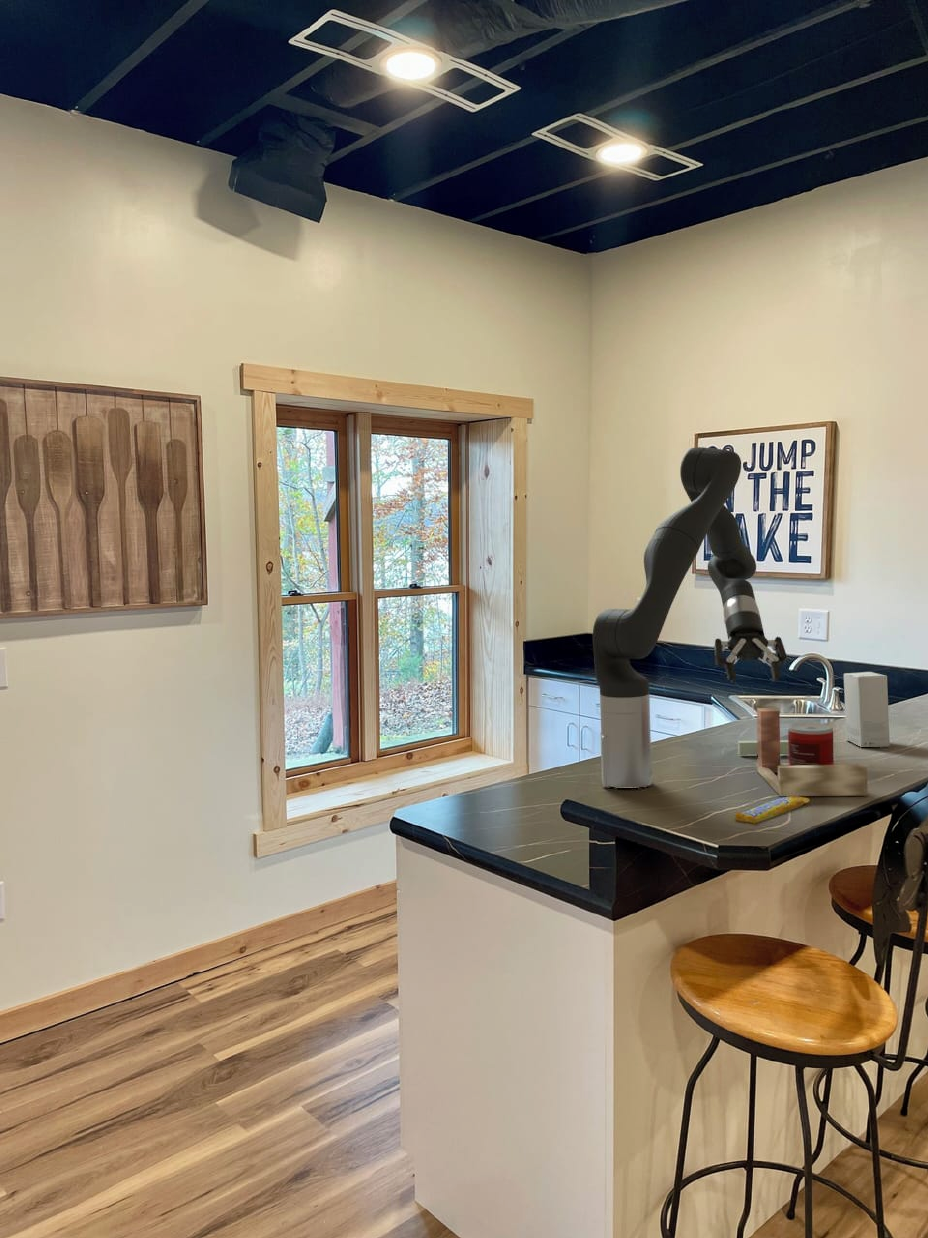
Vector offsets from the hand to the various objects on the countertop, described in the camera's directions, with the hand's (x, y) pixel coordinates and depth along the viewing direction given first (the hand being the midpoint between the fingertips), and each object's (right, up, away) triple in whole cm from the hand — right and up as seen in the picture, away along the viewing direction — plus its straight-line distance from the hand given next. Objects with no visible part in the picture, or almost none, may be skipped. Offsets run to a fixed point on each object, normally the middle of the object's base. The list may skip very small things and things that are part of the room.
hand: (754, 679), depth 185 cm
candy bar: (-9, -20, -37) cm, 43 cm away
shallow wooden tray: (+3, -18, -20) cm, 27 cm away
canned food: (+3, -18, -22) cm, 29 cm away
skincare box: (+28, -15, +11) cm, 33 cm away
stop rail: (+6, -16, +3) cm, 18 cm away
